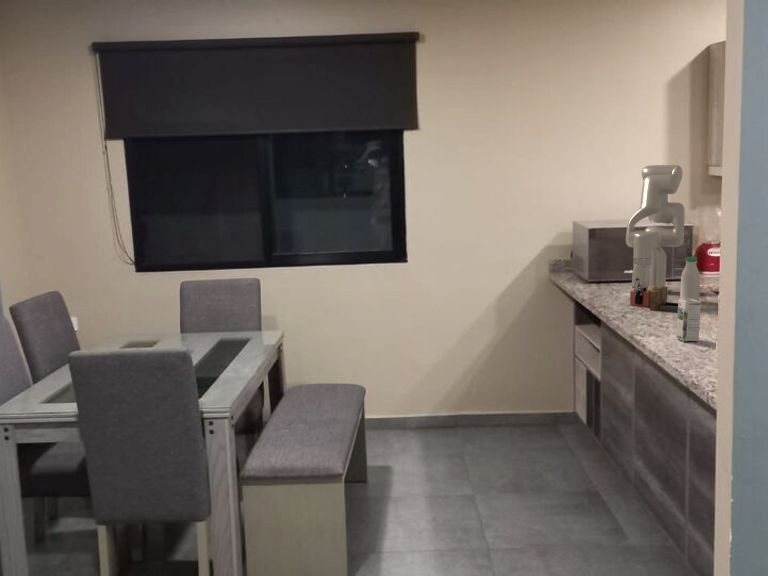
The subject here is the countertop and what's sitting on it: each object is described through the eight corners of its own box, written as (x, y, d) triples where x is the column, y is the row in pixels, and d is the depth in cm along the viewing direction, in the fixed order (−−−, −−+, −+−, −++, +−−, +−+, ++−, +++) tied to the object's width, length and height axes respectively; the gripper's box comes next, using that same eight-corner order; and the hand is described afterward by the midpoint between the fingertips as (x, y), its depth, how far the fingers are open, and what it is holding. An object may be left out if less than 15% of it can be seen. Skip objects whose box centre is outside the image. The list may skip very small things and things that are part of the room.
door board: (661, 304, 328) (662, 282, 327) (667, 305, 327) (668, 282, 325) (649, 310, 317) (650, 286, 315) (655, 311, 315) (656, 287, 314)
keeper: (665, 306, 324) (665, 301, 324) (694, 309, 317) (694, 304, 317) (658, 309, 318) (658, 305, 317) (687, 313, 310) (687, 308, 310)
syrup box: (675, 339, 267) (677, 298, 265) (691, 338, 268) (693, 298, 265) (683, 342, 262) (685, 301, 259) (699, 342, 262) (701, 301, 260)
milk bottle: (700, 304, 328) (702, 258, 324) (681, 303, 329) (683, 258, 326) (696, 300, 335) (699, 256, 332) (678, 300, 337) (680, 256, 333)
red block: (633, 303, 332) (634, 288, 331) (651, 305, 327) (652, 290, 326) (629, 304, 329) (630, 290, 328) (648, 306, 324) (648, 291, 323)
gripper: (640, 258, 333) (639, 299, 337) (626, 263, 320) (625, 305, 324) (658, 259, 329) (656, 300, 332) (644, 264, 316) (642, 307, 319)
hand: (641, 302), depth 328 cm, fingers closed on red block, 4 cm apart
